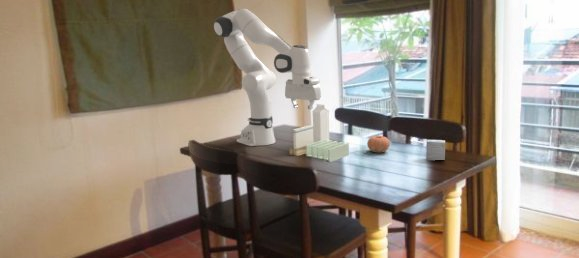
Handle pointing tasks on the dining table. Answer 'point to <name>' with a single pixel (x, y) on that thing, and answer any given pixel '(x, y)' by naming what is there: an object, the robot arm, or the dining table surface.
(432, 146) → the medicine box
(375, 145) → the orange rounded piece
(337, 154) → the rack
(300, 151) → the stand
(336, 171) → the dining table surface
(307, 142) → the plate
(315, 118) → the milk
